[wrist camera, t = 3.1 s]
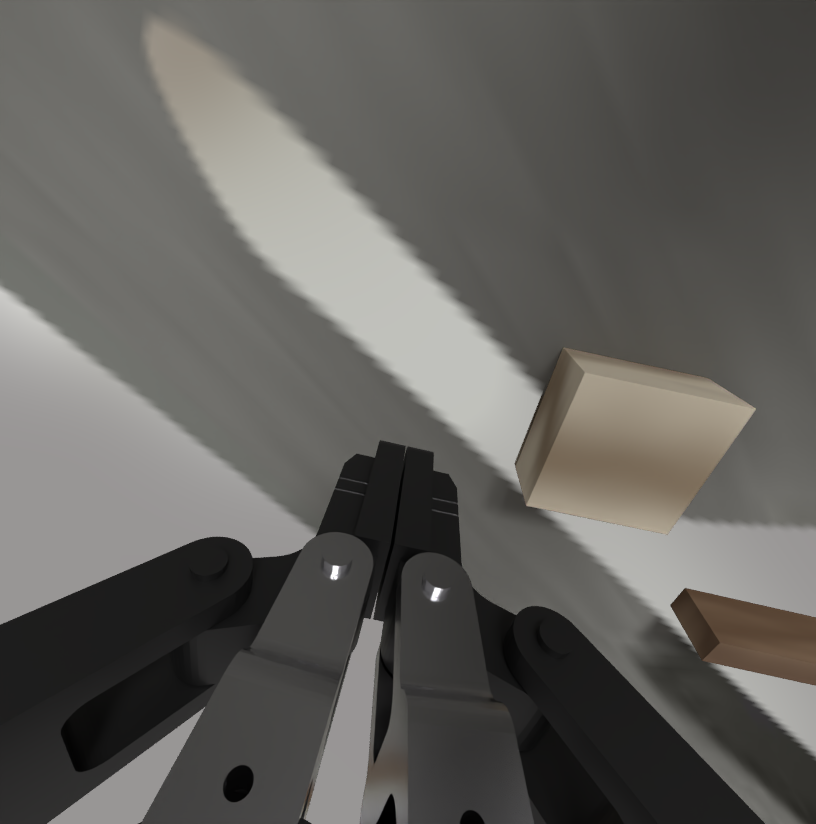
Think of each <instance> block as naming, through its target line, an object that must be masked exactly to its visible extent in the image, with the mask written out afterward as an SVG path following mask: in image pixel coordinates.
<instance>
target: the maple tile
mask: <svg viewBox="0 0 816 824" xmlns="http://www.w3.org/2000/svg"><path fill="white" fill-rule="evenodd" d="M755 410H756V408H754V407H752V406H751V405H749V404H748V403H746V402H745V401H743V400H741V399H740V398H738V397H737V396H735V395H734V394H732V393H730V392H729V391H727V390H726V389H724V388H723V387H721V386H719V385H718V384H716V383H715V382H713V381H712V380H710V379H708V378H705V377H700V376H695V375H691V374H686V373H681V372H677V371H672V370H667V369H662V368H658V367H653V366H648V365H644V364H639V363H634V362H630V361H625V360H620V359H615V358H611V357H606V356H601V355H597V354H592V353H587V352H583V351H578V350H573V349H569V348H564V347H563V349H562V351H561V354H560V356H559V359H558V362H557V364H556V367H555V369H554V372H553V374H552V377H551V379H550V382H549V384H548V387H547V389H546V392H545V394H544V396H543V395H541V398H540V400H539V403H538V405H537V408H536V410H535V413H534V415H533V418H532V420H531V423H530V425H529V428H528V430H527V433H526V435H525V438H524V441H523V443H522V445H521V448H520V451H519V453H518V456H517V458H516V461H515V467H516V471H517V474H518V478H519V482H520V485H521V489H522V492H523V496H524V500H525V503H526V506H530V507H535V508H540V509H545V510H550V511H555V512H559V513H564V514H569V515H574V516H579V517H584V518H588V519H593V520H599V521H603V522H608V523H613V524H618V525H622V526H628V527H632V528H637V529H642V530H647V531H652V532H656V533H661V534H666V535H668V534H669V532H670V531H671V529H672V528H673V526H674V525H675V524H676V522H677V521H678V519H679V518H680V516H681V515H682V514H683V512H684V511H685V509H686V508H687V507H688V505H689V504H690V502H691V501H692V499H693V498H694V497H695V495H696V494H697V492H698V491H699V489H700V488H701V487H702V485H703V484H704V482H705V481H706V480H707V478H708V477H709V475H710V474H711V472H712V471H713V470H714V468H715V467H716V465H717V464H718V463H719V461H720V460H721V458H722V457H723V455H724V454H725V453H726V451H727V450H728V448H729V447H730V445H731V444H732V443H733V441H734V440H735V438H736V437H737V436H738V434H739V433H740V431H741V430H742V428H743V427H744V426H745V424H746V423H747V421H748V420H749V419H750V417H751V416H752V414H753V413H754V411H755Z"/></svg>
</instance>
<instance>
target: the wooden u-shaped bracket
mask: <svg viewBox="0 0 816 824" xmlns="http://www.w3.org/2000/svg"><path fill="white" fill-rule="evenodd" d="M671 607H672V609H673V611H674V613H675V614H676V616H677V618H678V620H679V621H680V623H681V625H682V627H683V628H684V630H685V632H686V634H687V635H688V637H689V639H690V641H691V642H692V644H693V646H694V647H695V649H696V651H697V653H698V654H699V656H700V658H701V660H702V661H706V662H711V663H715V664H720V665H724V666H729V667H734V668H738V669H743V670H747V671H752V672H757V673H761V674H766V675H770V676H775V677H780V678H784V679H788V680H793V681H797V682H802V683H807V684H811V685H816V617H811V616H807V615H802V614H798V613H794V612H789V611H785V610H780V609H775V608H771V607H767V606H763V605H758V604H753V603H749V602H744V601H740V600H735V599H731V598H727V597H722V596H718V595H714V594H709V593H705V592H700V591H696V590H691V589H687V588H685V589H684V590H683V591H682V592H681V593H680V595H679V596H678V597H677V598H676V599H675V600H674V602H673V603H672V604H671Z"/></svg>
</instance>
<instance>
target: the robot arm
mask: <svg viewBox="0 0 816 824" xmlns="http://www.w3.org/2000/svg"><path fill="white" fill-rule="evenodd" d="M404 454H405V457H404ZM433 457H434V453H433V452H430V451H426V450H421V449H417V448H413V447H407V450H406V453H405V446H403V445H399V444H394V443H390V442H386V441H381V440H380V442H379V445H378V449H377V453H376V456H375V458H373V457H369V456H365V455H360V454H356V455H354V456H353V457H352V458H351V459H349V460H348V461H347V462H345V464H344V466H343V469H342V472H341V474H340V477H339V479H338V482H337V484H336V487H335V490H334V492H333V495H332V497H331V500H330V502H329V505H328V507H327V510H326V513H325V515H324V518H323V520H322V523H321V525H320V528H319V531H318V533H317V535H316V537H314V538H313V539H311V540H310V541H309V542H308V543H307V544H306V545H305V546H304V548H303V549H301V550H299V551H297V552H295V553H292V554H289V555H284V556H277V557H264V558H252V555H251V553H250V551H249V549H248V548H247V547H246V546H245V545H244V544H242V543H241V542H239V541H237V540H235V539H231V538H227V537H209V538H204V539H200V540H197V541H194V542H192V543H189V544H187V545H184V546H182V547H180V548H177V549H175V550H173V551H170V552H168V553H166V554H163V555H161V556H159V557H157V558H154V559H152V560H150V561H147V562H145V563H143V564H140V565H138V566H136V567H133V568H131V569H129V570H126V571H124V572H122V573H119V574H117V575H115V576H112V577H110V578H108V579H106V580H103V581H101V582H99V583H96V584H94V585H92V586H89V587H87V588H85V589H82V590H80V591H78V592H75V593H73V594H71V595H68V596H66V597H64V598H61V599H59V600H57V601H55V602H52V603H50V604H48V605H45V606H43V607H41V608H38V609H36V610H34V611H31V612H29V613H27V614H24V615H22V616H20V617H17V618H15V619H13V620H10V621H8V622H6V623H3V624H1V625H0V824H47V823H48V822H49V821H51V820H52V819H54V818H55V817H56V816H58V815H59V814H60V813H62V812H63V811H64V810H66V809H67V808H68V807H70V806H71V805H72V804H74V803H75V802H77V801H78V800H79V799H81V798H82V797H83V796H85V795H86V794H87V793H89V792H90V791H91V790H93V789H94V788H96V787H97V786H98V785H100V784H101V783H102V782H104V781H105V780H106V779H108V778H109V777H111V776H112V775H113V774H115V773H116V772H117V771H119V770H120V769H121V768H123V767H124V766H125V765H127V764H128V763H130V762H131V761H132V760H134V759H135V758H136V757H137V756H139V755H140V754H142V753H143V752H144V751H146V750H147V749H149V748H150V747H151V746H153V745H154V744H155V743H157V742H158V741H159V740H161V739H162V738H163V737H165V736H166V735H167V734H169V733H170V732H172V731H173V730H174V729H175V728H177V727H178V726H180V725H181V724H182V723H184V722H185V721H186V720H188V719H189V718H191V717H192V716H193V715H195V714H196V713H197V712H199V711H200V710H201V709H203V708H204V707H205V706H206V707H205V709H204V711H203V713H202V714H201V716H200V718H199V720H198V721H197V723H196V725H195V727H194V729H193V730H192V732H191V734H190V736H189V738H188V739H187V741H186V743H185V745H184V747H183V749H182V750H181V752H180V754H179V756H178V758H177V760H176V761H175V763H174V765H173V767H172V768H171V770H170V772H169V774H168V776H167V777H166V779H165V781H164V783H163V785H162V787H161V788H160V790H159V792H158V794H157V796H156V797H155V799H154V801H153V803H152V805H151V806H150V808H149V810H148V812H147V814H146V815H145V817H144V819H143V821H142V822H141V823H139V824H311V823H310V822H308V821H306V820H305V819H306V815H307V811H308V807H309V804H310V801H311V797H312V793H313V790H314V786H315V782H316V778H317V775H318V770H319V767H320V764H321V760H322V756H323V753H324V749H325V745H326V742H327V738H328V735H329V731H330V728H331V724H332V721H333V717H334V714H335V710H336V706H337V703H338V699H339V696H340V692H341V689H342V685H343V682H344V678H345V674H346V671H347V667H348V664H349V660H350V656H351V653H352V652H353V650H354V649H355V647H356V645H357V642H358V638H359V634H360V630H361V626H362V623H363V619H364V618H369V619H370V618H371V615H372V611H373V607H374V604H375V600H376V596H377V593H378V596H377V601H376V607H375V613H374V620H379V621H383V622H384V624H383V630H382V637H381V642H380V646H379V649H378V652H377V657H376V664H375V665H376V666H375V679H374V692H373V707H372V720H371V733H370V747H369V748H370V749H369V761H368V771H367V778H366V785H365V790H364V795H363V801H362V808H361V817H360V824H765V823H764V822H763V821H762V820H761V819H760V818H759V817H758V816H757V815H756V814H755V813H754V812H753V811H752V810H751V809H750V808H749V806H748V805H747V804H746V803H745V802H744V801H743V800H742V799H741V798H740V797H739V796H738V795H737V794H736V793H735V792H734V791H733V790H732V789H731V788H730V787H729V786H728V785H727V784H726V783H725V782H724V781H723V779H722V778H721V777H720V776H719V775H718V774H717V773H716V772H715V771H714V770H713V769H712V768H711V767H710V766H709V765H708V764H707V763H706V762H705V761H704V760H703V759H702V758H701V757H700V756H699V755H698V754H697V752H696V751H695V750H694V749H693V748H692V747H691V746H690V745H689V744H688V743H687V742H686V741H685V740H684V739H683V738H682V737H681V736H680V735H679V734H678V733H677V732H676V731H675V730H674V729H673V728H672V727H671V725H670V724H669V723H668V722H667V721H666V720H665V719H664V718H663V717H662V716H661V715H660V714H659V713H658V712H657V711H656V710H655V709H654V708H653V707H652V706H651V705H650V704H649V703H648V702H647V701H646V700H645V698H644V697H643V696H642V695H641V694H640V693H639V692H638V691H637V690H636V689H635V688H634V687H633V686H632V685H631V684H630V683H629V682H628V681H627V680H626V679H625V678H624V677H623V676H622V675H621V674H620V673H619V671H618V670H617V669H616V668H615V667H614V666H613V665H612V664H611V663H610V662H609V661H608V660H607V659H606V658H605V657H604V656H603V655H602V654H601V653H600V652H599V651H598V650H597V649H596V648H595V647H594V646H593V644H592V643H591V642H590V641H589V640H588V639H587V638H586V637H585V636H584V635H583V634H582V633H581V632H580V631H579V630H578V629H577V628H576V627H575V626H574V625H573V624H572V623H571V622H570V621H569V620H567V619H566V618H565V617H564V616H562V615H560V614H559V613H557V612H555V611H553V610H551V609H548V608H545V607H539V606H531V607H527V608H525V609H522V610H521V611H520V612H519V613H518V614H517V616H516V615H514V614H512V613H510V612H509V611H507V610H505V609H503V608H501V607H499V606H497V605H495V604H493V603H492V602H490V601H488V600H487V599H485V598H484V597H482V596H481V595H480V594H479V593H478V592H477V591H476V590H475V589H474V588H473V587H472V584H471V580H470V578H469V576H468V575H467V573H466V571H465V570H464V569H463V568H462V563H461V548H460V532H459V517H458V505H457V503H458V499H457V488H456V486H455V484H454V483H453V481H452V479H451V478H450V476H449V474H445V473H441V472H436V471H433ZM403 460H404V461H403Z"/></svg>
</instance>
